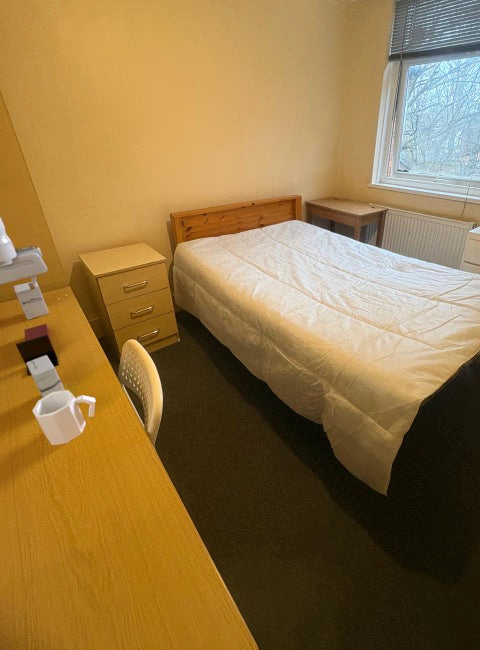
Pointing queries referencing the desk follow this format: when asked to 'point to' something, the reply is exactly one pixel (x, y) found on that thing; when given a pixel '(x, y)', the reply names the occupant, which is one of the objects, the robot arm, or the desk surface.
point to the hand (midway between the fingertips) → (15, 293)
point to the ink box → (45, 375)
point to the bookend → (37, 350)
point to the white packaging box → (31, 300)
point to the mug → (62, 415)
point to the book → (37, 332)
